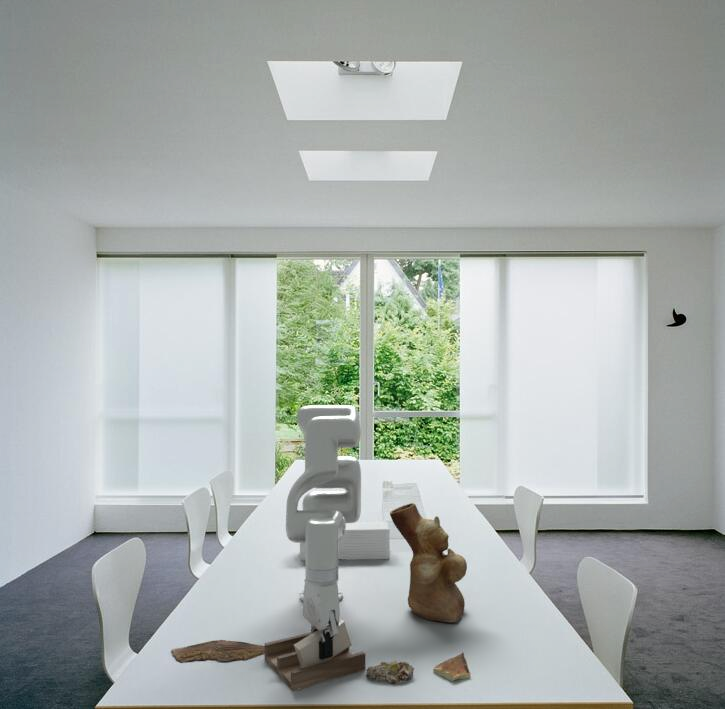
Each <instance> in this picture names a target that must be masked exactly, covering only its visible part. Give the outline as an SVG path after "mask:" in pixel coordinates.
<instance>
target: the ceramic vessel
mask: <svg viewBox="0 0 725 709" xmlns="http://www.w3.org/2000/svg"><path fill="white" fill-rule="evenodd" d="M389 515H390V517H391V518H390V519H391V520H392V522H393V525H394V526H395V528H396V529H397V530H398V532H399V533H400V534H401V536H402V537H403V539H404V540H405V541H406V543H407V544H408V546H409V547H410V549H411V551H412V558H411V561H410V564H409V569H410V572H409V573H410V575H409V578H410V580H409V590H408V596H407V604H408V607H409V609H410V610H411V611H412V612H413V613H414V614H415V615H417V616H419V617H420V618H422V619H425V620H430V621H436V622H444V623H457V622H459V621H460V620H461V619H462V617H463V615H464V611H465V603H466V602H465V597H464V595H463V593H462V591H461V590H460V588H459V587H458V586H457V584H456V583H457V582H460V581H461V580H462V579H463V578H464V577H465V576H466V573H467V569H468V566H467V561H466V559H465V558H464V557H463V556H462V555H460V554H458V553H456V552H455V551H454V550H452V549H451V548H449V537H450V536H449V534H448V533H447V532H446V531H445V530H444V528H443V527H442V526H441V522H440V518H439V516H434V519H429V518H425V517H423V516H422V515H421V514H420V511H419V510H418V508H417V505H416V504H415V503H413V502H410V503H407V504H404V505H401V506H398V507H397V508H395V509H392V510H391V511H390V512H389ZM446 551H447V553H446V554H445V553H444V552H446Z"/></svg>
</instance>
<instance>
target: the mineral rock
mask: <svg viewBox="0 0 725 709" xmlns="http://www.w3.org/2000/svg"><path fill="white" fill-rule="evenodd" d="M365 670H366V677H367V678H368V679H372V681H373V682H374V681H375V682H386V683H389V684H392V685H397V684H401V682H404V683H406V682H407V680H409V679H411V678H412V677H413V675H414V670H415V668H414V666H413V665H410V663H409V662H407V661H399V662H398V661H396V660H394V661H390V662H388V661H382V662H380V664H377V665H375V666H373V665H370V666H368V667H367V669H365Z"/></svg>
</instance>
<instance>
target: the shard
mask: <svg viewBox="0 0 725 709" xmlns="http://www.w3.org/2000/svg"><path fill="white" fill-rule="evenodd" d="M432 671H433V673H435V674H437V675H439V676H441V677H443V678H445V679H447V680H449V681H451V682H453V681H455V680H462V679H470V678H471V673H470V670H469V667H468V663H467V659H466V658H465V654H464V652H462V653H459V654H458V655H456V656H454V657H450V658H448V659H447V660H444V661H442V662H440V663H439V664H437V665H435V666H434V667H433V670H432Z"/></svg>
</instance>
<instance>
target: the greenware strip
mask: <svg viewBox="0 0 725 709" xmlns="http://www.w3.org/2000/svg"><path fill="white" fill-rule="evenodd" d="M328 625H329V624H328ZM337 630H338V635H336V636H334V640H333V656H332V657H334V656H335V655H337V654H339V653H340V652H342V651H343V650H345V649H346V648H348V647H349V648H350V647H351V646H352V642H351V638H350V636H349V635H350V634H349V633H348V629H347V626H346V623H345V621H344V620H342V619H341V618H340V617H339V625H338V627H337ZM326 632H329V630H325V634H326ZM319 641H321V633H320V631H319V630H317V631H315V632H314V633H312V634H311V635H309V636H307V637H306V638H304V639H302V640H301V641H299V642H298V643H296V644H294V647H295V650H296V653H297V656H298V659H299V662H300V665H301V668H304V667H307V666H311V665H315V664H318V663H322V662H325V661H328V660H329V659H331V658H332V657H330V658H326V659H322V660H321V659H320V658H319Z"/></svg>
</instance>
